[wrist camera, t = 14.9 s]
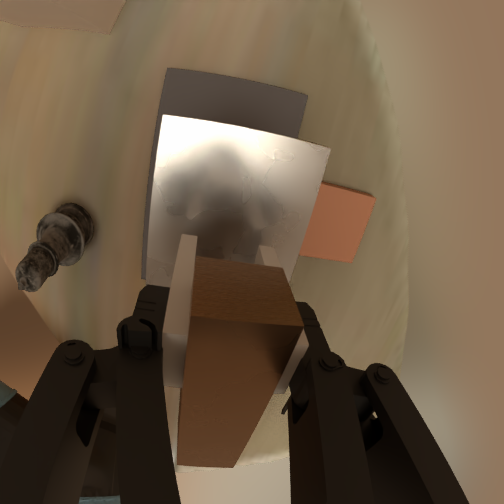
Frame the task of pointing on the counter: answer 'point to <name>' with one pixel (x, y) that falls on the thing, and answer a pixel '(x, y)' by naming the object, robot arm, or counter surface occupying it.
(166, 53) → the counter surface
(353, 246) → the tile
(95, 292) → the counter surface
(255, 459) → the counter surface
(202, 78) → the mat
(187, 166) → the trowel
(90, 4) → the milk
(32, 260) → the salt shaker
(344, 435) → the robot arm
